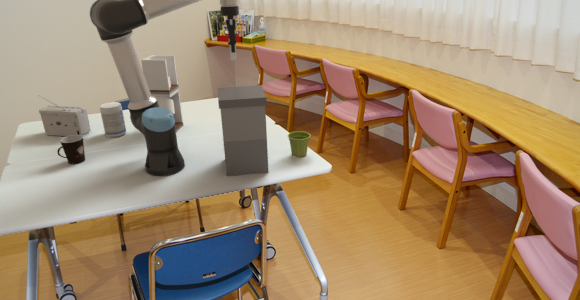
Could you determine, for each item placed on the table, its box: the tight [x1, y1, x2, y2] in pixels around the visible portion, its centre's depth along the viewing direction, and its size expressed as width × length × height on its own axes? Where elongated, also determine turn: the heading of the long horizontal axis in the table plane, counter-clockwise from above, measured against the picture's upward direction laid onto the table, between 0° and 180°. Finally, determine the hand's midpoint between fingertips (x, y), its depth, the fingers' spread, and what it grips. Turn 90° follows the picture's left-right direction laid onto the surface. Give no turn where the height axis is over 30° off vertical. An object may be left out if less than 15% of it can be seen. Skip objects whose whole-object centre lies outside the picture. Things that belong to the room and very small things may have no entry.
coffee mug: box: [57, 135, 86, 165], centre depth 185 cm, size 12×9×10 cm
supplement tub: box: [99, 101, 127, 138], centre depth 212 cm, size 10×10×15 cm
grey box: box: [217, 84, 270, 177], centre depth 173 cm, size 17×17×30 cm
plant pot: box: [287, 131, 311, 158], centre depth 186 cm, size 9×9×9 cm
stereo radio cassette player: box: [37, 95, 91, 137], centre depth 213 cm, size 21×8×20 cm, turn 77°
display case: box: [140, 54, 184, 133], centre depth 213 cm, size 11×11×35 cm
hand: (233, 56), depth 195 cm, fingers open, 13 cm apart
